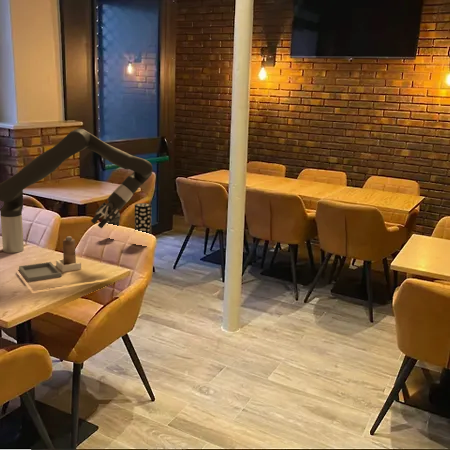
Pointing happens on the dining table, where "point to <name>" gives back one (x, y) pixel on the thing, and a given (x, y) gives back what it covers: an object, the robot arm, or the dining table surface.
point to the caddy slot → (67, 267)
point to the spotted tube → (143, 217)
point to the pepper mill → (69, 250)
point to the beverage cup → (115, 220)
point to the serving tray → (40, 271)
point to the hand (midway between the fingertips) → (95, 224)
